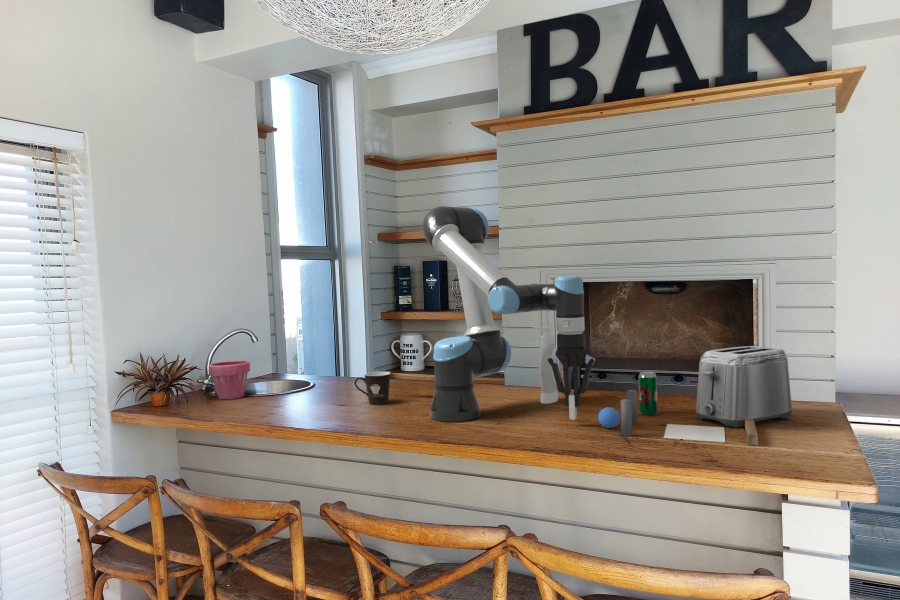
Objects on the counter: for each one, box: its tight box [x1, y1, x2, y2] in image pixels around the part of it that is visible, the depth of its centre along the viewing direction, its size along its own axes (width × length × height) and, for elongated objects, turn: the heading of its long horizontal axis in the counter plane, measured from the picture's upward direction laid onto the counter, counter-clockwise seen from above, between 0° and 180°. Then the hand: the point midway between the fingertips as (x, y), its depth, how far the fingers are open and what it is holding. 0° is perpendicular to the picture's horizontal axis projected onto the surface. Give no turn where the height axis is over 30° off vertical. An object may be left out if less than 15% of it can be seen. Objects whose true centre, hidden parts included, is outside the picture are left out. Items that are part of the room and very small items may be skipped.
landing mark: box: [663, 423, 726, 444], centre depth 157 cm, size 14×14×1 cm
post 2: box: [626, 389, 639, 425], centre depth 169 cm, size 3×3×9 cm
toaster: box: [695, 345, 793, 429], centre depth 170 cm, size 17×30×19 cm, turn 113°
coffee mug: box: [354, 371, 391, 406], centre depth 208 cm, size 12×9×10 cm
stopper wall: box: [744, 419, 759, 447], centre depth 152 cm, size 2×16×2 cm, turn 157°
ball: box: [597, 406, 621, 429], centre depth 165 cm, size 6×6×6 cm
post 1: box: [620, 398, 633, 437], centre depth 157 cm, size 3×3×9 cm
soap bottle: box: [531, 326, 559, 405], centre depth 201 cm, size 13×8×24 cm, turn 151°
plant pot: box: [208, 360, 251, 400], centre depth 228 cm, size 14×14×13 cm
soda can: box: [637, 371, 658, 416], centre depth 179 cm, size 5×5×12 cm
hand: (573, 418), depth 169 cm, fingers closed
